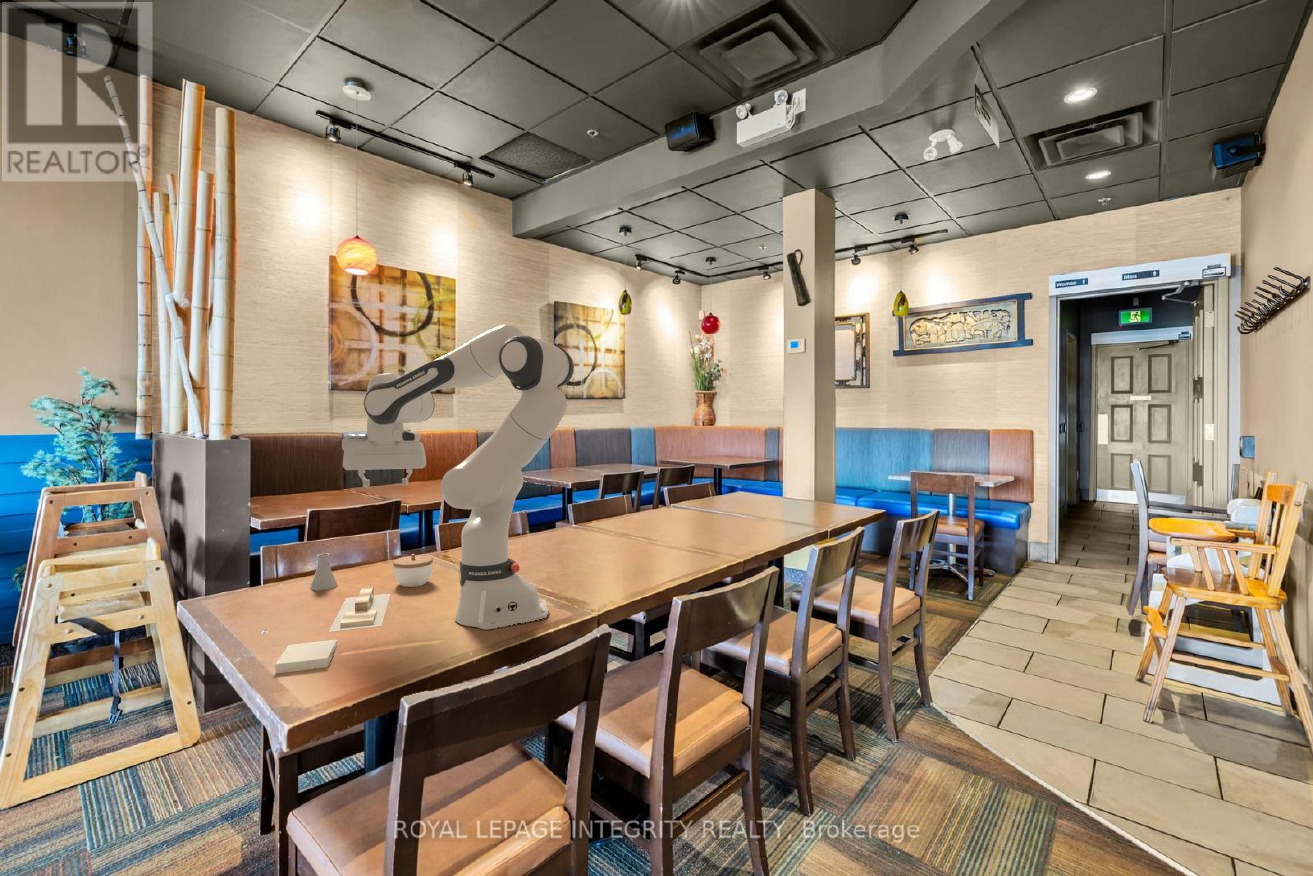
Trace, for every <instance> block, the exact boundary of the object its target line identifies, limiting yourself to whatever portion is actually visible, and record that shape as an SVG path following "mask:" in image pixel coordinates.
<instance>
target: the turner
mask: <svg viewBox="0 0 1313 876" xmlns="http://www.w3.org/2000/svg"><path fill="white" fill-rule="evenodd" d="M374 591H375V589H374V586H373V585H372V586H363V587H361V589H360V591H359V594H358V596H357V597H358V598H357V600H356V602H355V611H353V612H345V614H344V616H343V618H342V620H341V622H340V628H341V627H350V626H359V625H368V624H374V620H375V617H376V614H377V609H373V610H369V609H370V606H371V603H372V601H373V598H374V595H375V593H374Z"/></svg>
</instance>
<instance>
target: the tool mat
mask: <svg viewBox="0 0 1313 876" xmlns="http://www.w3.org/2000/svg"><path fill="white" fill-rule="evenodd" d="M390 597H391V593H384V594H382V593H381V594H374V598H373V601H372V603H371V606H370V609H369V610H373V609H377V614H376V617H375V620H374V624H368V625H359V626H350V627H341V628H340V622H341V620H342V618H343V616H344V614H345V612H353V611H355V602H356V600H357V598H358V596H351V597H350V596H349V597H345V598H344V602H343V603H342V605H341V607H340V609H339V611H338V613H337V614H336V616H335V619H334V620H333V622H332V624H331V626H330V628H329V630H328V633H331V632H332V633H333V632H340V631H350V630H358V629H367V628H370V629H371V628H379V627H383V626H382V625H383V622H384V618H385V616H386V613H387V609H388V606H389V601H390Z"/></svg>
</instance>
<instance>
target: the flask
mask: <svg viewBox="0 0 1313 876" xmlns="http://www.w3.org/2000/svg"><path fill="white" fill-rule="evenodd" d="M330 556H331V554H330V553H319V554H316V557H317V567H316V570H315V572H314V576H313V578H312V581H311V583H310V585H309V590H310V591H316V592H321V591H327V590H328V591H329V590H332V589H334V588H338V587H339V585H338V583H337V581H336V579H335V576H334V574H333V571H332V569H331V565H330V558H329V557H330Z"/></svg>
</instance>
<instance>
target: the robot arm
mask: <svg viewBox="0 0 1313 876" xmlns="http://www.w3.org/2000/svg"><path fill="white" fill-rule="evenodd" d="M574 363H575V362H574V360H573V357H571V355H570V354H569V353H568V352H567V351H566V350H565V349H563V348H562V347H561V346H556V345H554V344H552V343H550V342H549V341H546V340H544V339H540V338H534V337H532V336H529V335H524V333H523V332H522V331H521V330H520V329H519V328H517V327H516V326H514V325H512V324H509V323H508V324H507V323H505V324H501V325H498V326H496V327H494V328H493V327H492V328H491V329H488V330H487V331H485V332H482V333H481V334H479V335H477V336H475V337H474V338H472V339H471V340H469V341H467V342H465V343H464V344H463V345H461V346H459V347H457V348H456V349H454V350H452V351H450V352H448V353H447V354H445V355H442V356H439V357H438V358H436V359H434V360H432V361H429V362H428V363H426V364H424V365H422V366H419V367H418V368H416V369H413V370H411V371H410V372H408V373H406V374H405V375H402V376H401V375H400V374H398V373H392V372H391V373H388V372H387V373H378V374H375V375H373V376H371V377H370V378H369V379H368V383H367V387H366V389H367V390H366V394H365V396H364V399H363V400H364V401H363V407H364V411H365V413H366V415H367V416H368V418H367V421H366V434H348V435H347V436H345V437H343V438H342V440H341V449H342V451H343V457H342V468H343V469H344V470H345V471H357V475H358V476H359V477H360V479H361V481H362V487H364V488H367V487H370V486H371V483H370V482H371V480H370V479H367V478H366V477H365V473H366V470H373V471H374V470H406V471H405V472H406V473H408V474H407V475H406V477H405V478H402V479H401V482H402V483H401V486H403V487H404V486H405V487H406V486H409V479H410V477H411V475H412V473H413V469H415V470H416V469H425V468H426V466H427V458H426V457H427V456H426V451H425V447H424V444H423V443H422V442H421V440H422V435H421V433H419V432H417V431H412V430H411V429H406V428H404V424H409V423H410V424H411V423H412V424H415V423H421V422H422V423H423V422H426V421H428V420H429V419H430V418H431V417H432V416H433V413H434V411H435V407H436V406H435V403H436V402H435V399H434V396H433V395H432V392H434V391H437V390H442V389H450V388H451V389H452V388H453V389H454V388H477V387H480V386H483V385H486V384H488V383H490V382H493V381H494V380H496V379H498V378H500V377H501V376H503V375H505V376H506V378H508V379H509V380H510V384H511V386H512V387H513V388H514V389H515V390H517V391H521V396H520V398H519V400H518V401H517V403H516V404H515V405H514V407H513V408H512V409H511V410H510V411H509V413H508V414H507V415H506V417H505V418H504V419H503V420H502V422H501V423H500V425H499V426H498V427H497V429H496V430H495V431H493V434H492V435H491V436H490V437H488V438H487V439H486V440H485V441H484V442H482V444H481V445H480V446H478V447H477V448H476V449H475V450H474V451H472V453H471V454H469V455H468V456H467V457H466V458H465V459H464V460H462V461H461V462H460V463H459V464H457V465H456V466H454V467H453V468H451V469H449V470H448V471H447V472H446V473H444V475H443V476H442V479H441V482H440V493H441V495H442V496H441V497H443V500H444V501H445V502H446V503H447V505H449V507H452V508H455V509H461V510H471V512H470V515H469V517H468V519H467V521H466V523H465V524H464V526H463V527H462V530H461V561H460V562H459V571H458V572H459V573H458V574H459V585H460V591H459V594H460V595H459V599H458V600H459V601H458V605H457V610H456V615H455V618H454V620H455V622H456V623H457V624H459V625H462V626H466V627H475V628H478V629H481V630H493V629H499V628H504V627H509V625H510V626H514V625H513V624H515V625H518V624H517V623H521V624H525V622H526V623H531V622H536V621H535V620H537V621H540V620H539V619H542V618H545V619H546V618H547V617H548V616H549V609H548V605H547V604H546V603H545V602H543V601H542V600H540V596H539V593H538V590H537V587H535V585H534V584H533V583H532V582H531V581H529V580H527V579H526V578H524V577H523V576H521V575H520V574H518V572H519V571H520V569H521V567H520V565H519V563H517V562H516V561H515V560H514V559H513V558H510V557H509V529H510V522H511V517H512V513H513V510H514V509H513V508H514V505H515V501H516V499H517V497H518V494H519V493H520V491H521V490H522V487H523V485H524V474H523V472H522V471H523V470H522V469H523V468H524V467H526V466H527V465H528V464H530V463H531V462H532V460H533V459H534V457H535V456H536V455H537V454H538V453H539V451H540V450H541V449H542V448H543V447H544V445H545V444H546V443H547V441H548V440H549V439H550V438H551V436H552V435H553V433H554V432H555V431H556V429H557V428H558V426H559V424H560V422H561V421H562V419H563V418H564V416H565V414H566V412H567V408H568V399H567V398H566V395H565V394H564V393H563V392H562V391H561V390H560V389H559V388H561V387H563V386H565V385H566V384H568V383H569V382H570V381H571V379H572V378H573V375H574V373H575V372H574V371H575V365H574ZM547 615H548V616H547ZM542 620H543V619H542ZM530 621H531V622H530ZM498 627H499V628H498Z"/></svg>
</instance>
